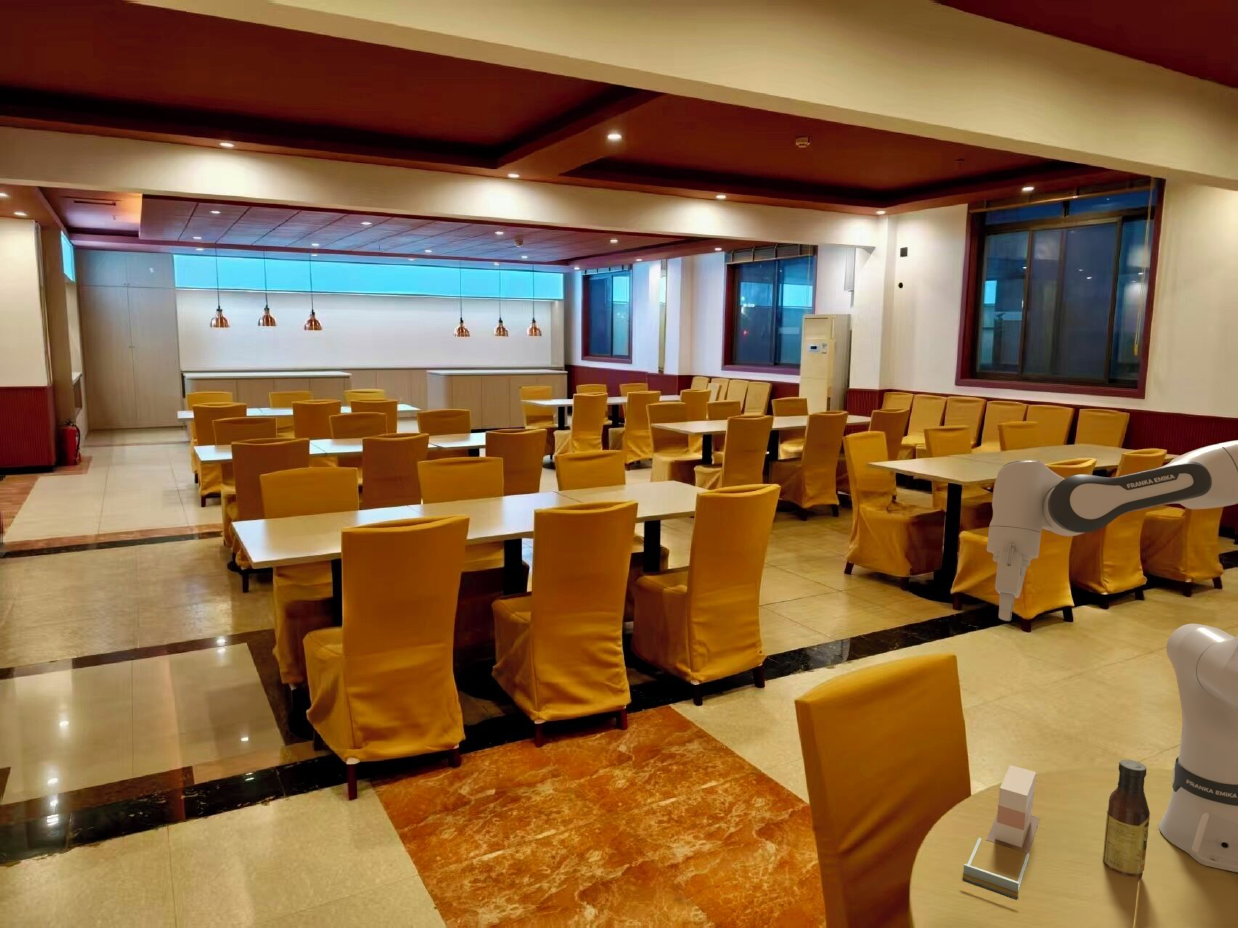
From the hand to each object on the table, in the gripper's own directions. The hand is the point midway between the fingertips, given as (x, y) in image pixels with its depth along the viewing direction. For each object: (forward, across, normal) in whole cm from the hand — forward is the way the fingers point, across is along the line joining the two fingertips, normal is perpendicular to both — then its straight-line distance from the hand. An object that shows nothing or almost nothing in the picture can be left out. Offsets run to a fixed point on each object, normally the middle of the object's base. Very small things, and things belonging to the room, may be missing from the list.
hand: (1004, 620), depth 157 cm
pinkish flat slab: (+39, +10, -5) cm, 40 cm away
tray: (+43, -3, -3) cm, 43 cm away
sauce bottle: (+40, +7, -22) cm, 46 cm away
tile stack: (+38, +9, -5) cm, 39 cm away
